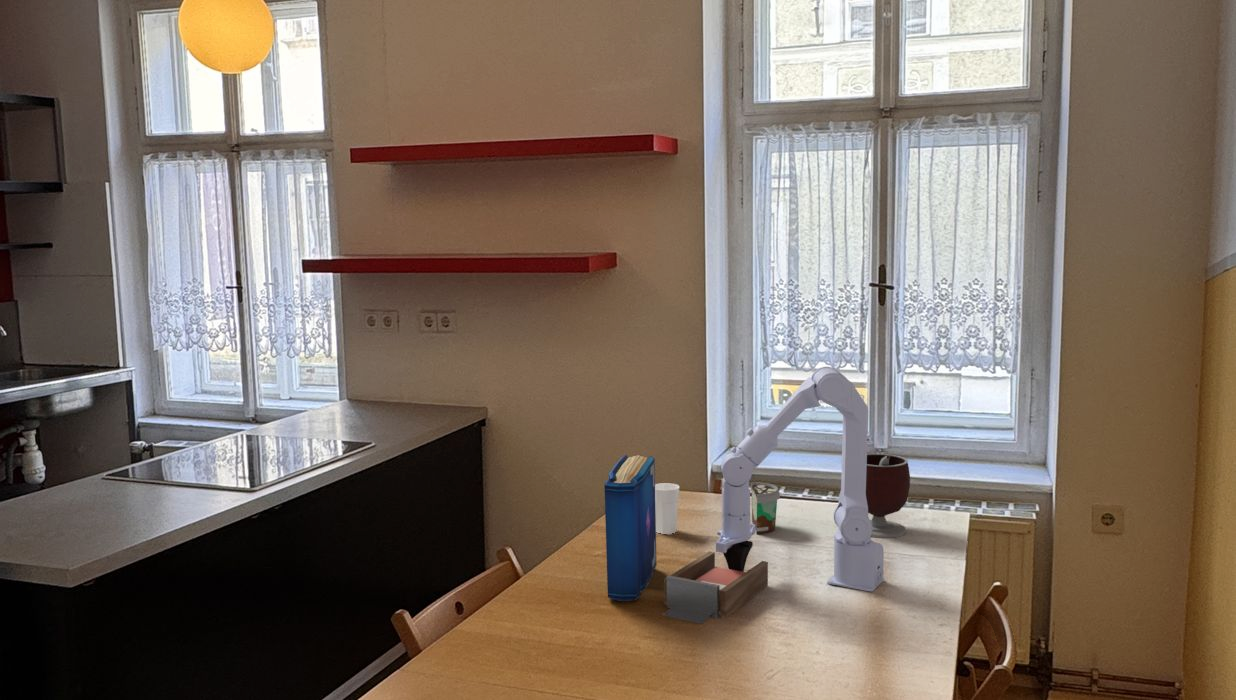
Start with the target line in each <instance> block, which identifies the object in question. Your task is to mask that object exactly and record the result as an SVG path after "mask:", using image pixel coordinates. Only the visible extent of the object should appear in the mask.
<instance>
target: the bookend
mask: <svg viewBox="0 0 1236 700" xmlns="http://www.w3.org/2000/svg"><path fill="white" fill-rule="evenodd" d="M670 575H671V574H670ZM670 575H667V576H666V578H667V605H666V607H667V608H668V610H667V611H665V612H663V613H662V617H663V616H664V617H668V618H673V619H676V620H682V621H685V622H691V623H695V624H700V625H701V624H703V623H704V622H705V621H706V620H708V619H710V618H716V619H718V618H720V617H721V616H720V585H715V584H710V583H705V582H700V581H695V580H690V579H685V578H680V577H675V576H670Z"/></svg>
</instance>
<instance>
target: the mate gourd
mask: <svg viewBox="0 0 1236 700" xmlns="http://www.w3.org/2000/svg"><path fill="white" fill-rule="evenodd" d="M910 487H911V473H910V467H909V460H908V458H906V457H903V456H900V455H895V454H888V453H887V454H886V453H867V467H866V499H867V505H868V514H870V515H872V518H871V519H870V521H871V523H872V534H871V536H870V537H871V538H879V539H888V538H889V539H890V538H896V537H901V536H903V535H905V534H906V527H905V526H904V525H902V524H901V523H898V522H896V521H890V520H887V519H886V516H888V515H891V514H894V513H897V512H899V511H901V510H902V508H903V507H904V506H905V505H906V503H907V501H908V498H909V492H910Z"/></svg>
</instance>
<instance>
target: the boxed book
mask: <svg viewBox="0 0 1236 700" xmlns="http://www.w3.org/2000/svg"><path fill="white" fill-rule="evenodd" d="M746 572H747V571H746ZM746 572H745V571H744V572H742V571H736V570H731V569H729V568H725V567H720V566H715V568H713V569H711V570H710V571H708V572H707V573H705V574H704V575H702V576H701V577H699V578H698V579H696V580H695V581H700V582H705V583H710V584H715V585H720V590H721V589H722V588H724V587H725V586H727V585H728V584H730V583H731V582H733V581H734V580H735V579H737V578H738V577H740V576H741V575H743V574H744V573H746Z"/></svg>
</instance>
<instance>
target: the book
mask: <svg viewBox="0 0 1236 700" xmlns="http://www.w3.org/2000/svg"><path fill="white" fill-rule="evenodd" d="M655 465H656V464H655V457H654V456H652V455H650V456H648V457H647V456H646V457H645V456H643V455H642V456H641V455H640V454H639V455H634V456H628V455H627V454H625V455H623V456H622V457H621V458H620V459H619V460H618V461H617V462H616V463H615V464H614V466H613V468H612V469H611V470H610V472H609V473H608V479H607V480H606V481H605V482H604V486H603V487H604V509H605V510H604V513H605V519H604V520H605V539H606V540H605V541H606V542H605V547H606V548H605V549H606V574H607V575H606V581H607V586H606V587H607V598H608V599H611V600H614V601H620V602H631V601H632V602H633V601H636V600H638V599H639V597H640V596H641V594H642V592H643V591H645V590H646V588H647V586H648V585H649V582H650V580H651V579H652V577H653V575H654V572H655V570H656V567H657V533H656V511H655V484H656V469H655ZM641 591H642V592H641Z"/></svg>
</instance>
